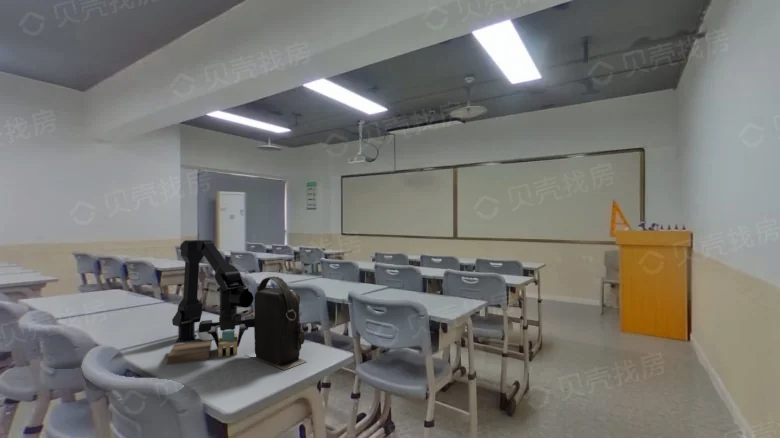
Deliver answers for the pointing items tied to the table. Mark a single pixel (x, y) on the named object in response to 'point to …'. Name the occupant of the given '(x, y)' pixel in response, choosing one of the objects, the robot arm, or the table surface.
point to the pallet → (227, 346)
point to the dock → (189, 352)
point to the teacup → (205, 335)
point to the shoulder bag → (277, 325)
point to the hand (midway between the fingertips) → (228, 347)
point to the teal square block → (228, 335)
